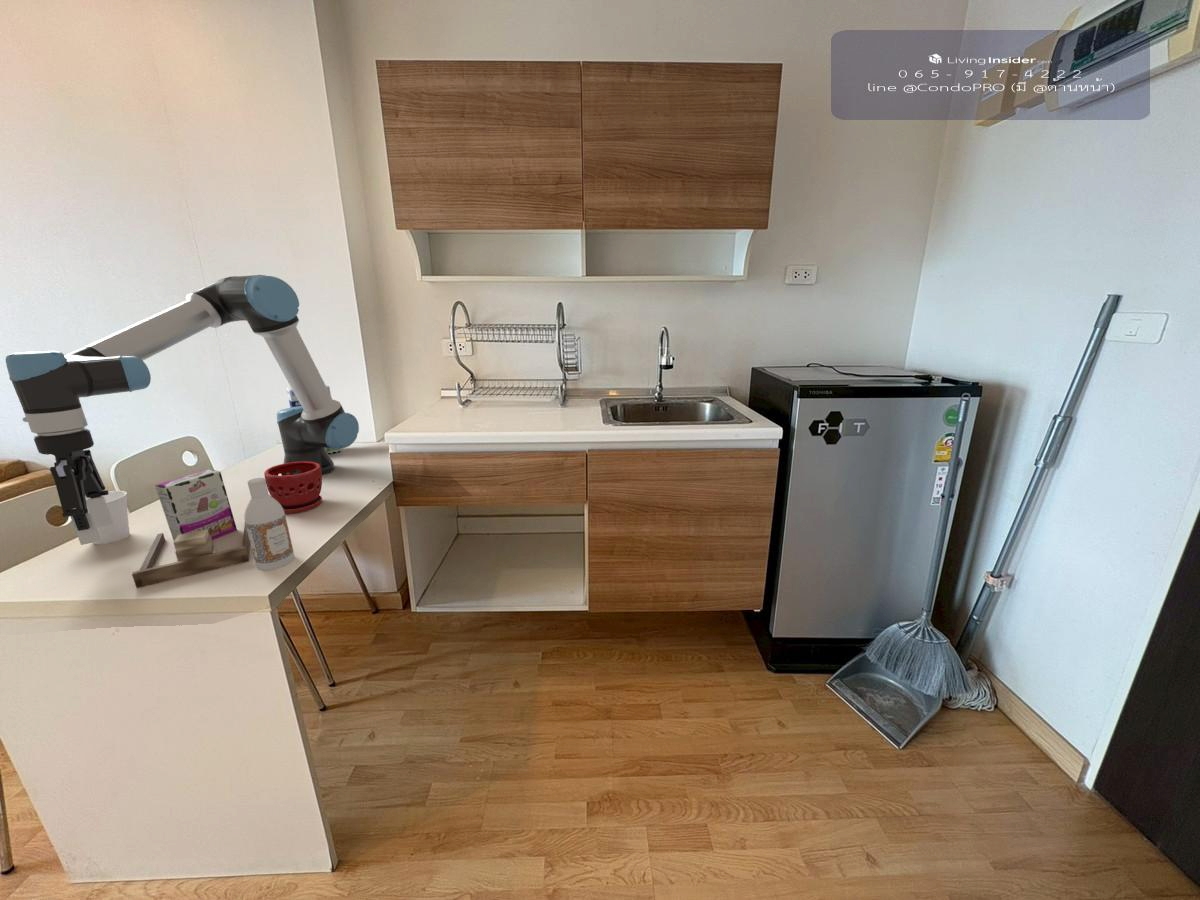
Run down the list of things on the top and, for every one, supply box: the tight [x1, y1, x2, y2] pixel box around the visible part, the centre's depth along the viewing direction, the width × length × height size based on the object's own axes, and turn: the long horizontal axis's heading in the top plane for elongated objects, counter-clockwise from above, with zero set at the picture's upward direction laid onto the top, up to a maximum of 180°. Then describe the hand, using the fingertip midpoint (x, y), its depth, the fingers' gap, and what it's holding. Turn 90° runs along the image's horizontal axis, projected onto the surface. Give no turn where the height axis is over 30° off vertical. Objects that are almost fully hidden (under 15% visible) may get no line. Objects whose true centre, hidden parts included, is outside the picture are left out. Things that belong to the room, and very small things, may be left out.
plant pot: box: [263, 462, 323, 515], centre depth 129 cm, size 13×13×12 cm
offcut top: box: [173, 529, 210, 552], centre depth 100 cm, size 5×4×2 cm
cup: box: [73, 490, 131, 545], centre depth 111 cm, size 10×10×11 cm
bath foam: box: [244, 477, 296, 572], centre depth 98 cm, size 7×7×20 cm
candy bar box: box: [154, 468, 238, 542], centre depth 110 cm, size 11×5×16 cm, turn 159°
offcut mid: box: [174, 536, 215, 561], centre depth 100 cm, size 6×5×2 cm
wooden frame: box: [131, 523, 251, 589], centre depth 106 cm, size 18×24×4 cm
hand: (97, 533), depth 98 cm, fingers open, 9 cm apart
